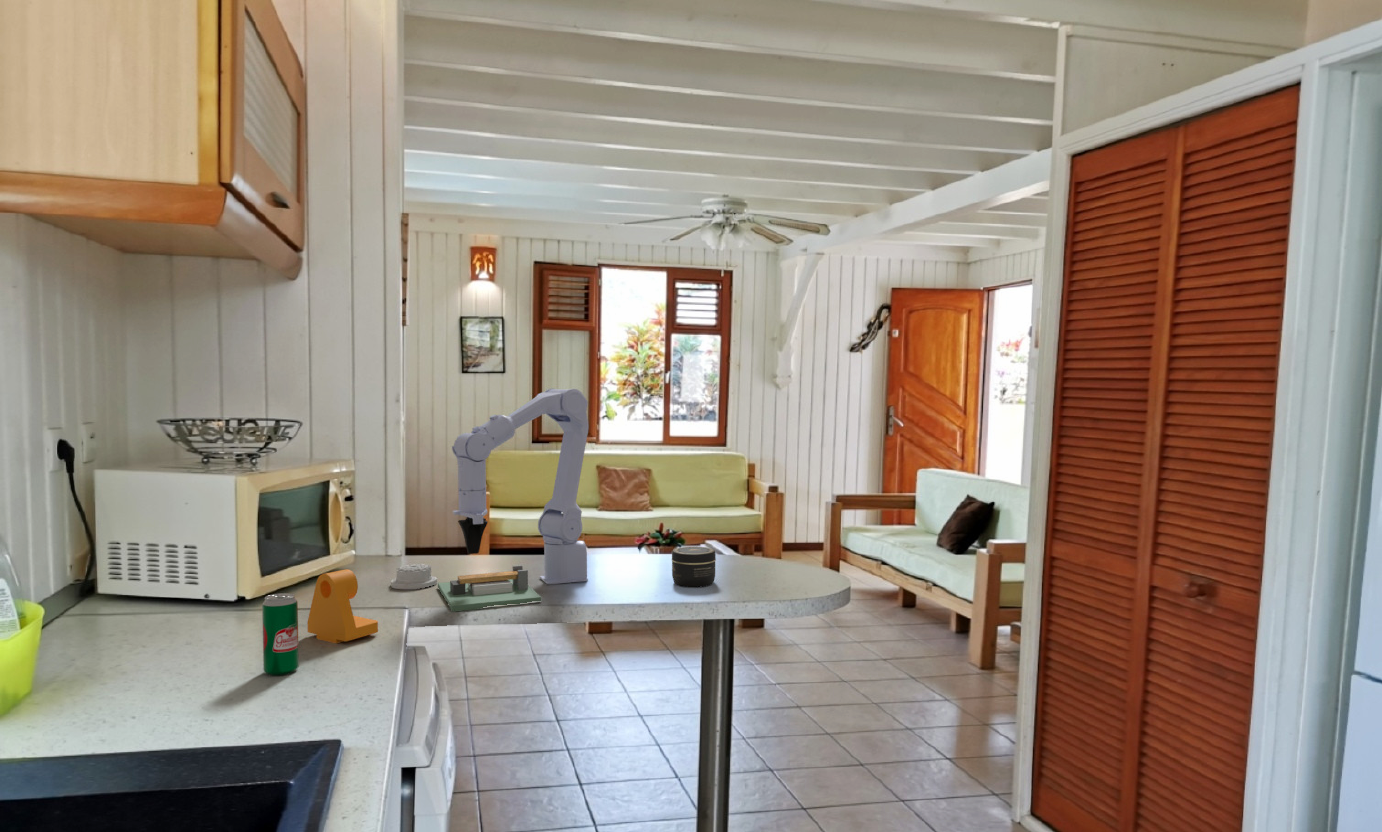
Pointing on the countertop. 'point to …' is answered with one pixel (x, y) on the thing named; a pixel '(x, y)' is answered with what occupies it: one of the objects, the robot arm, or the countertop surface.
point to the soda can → (280, 634)
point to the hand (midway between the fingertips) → (473, 553)
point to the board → (488, 592)
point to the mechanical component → (413, 577)
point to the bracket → (337, 609)
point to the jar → (693, 566)
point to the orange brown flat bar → (488, 577)
